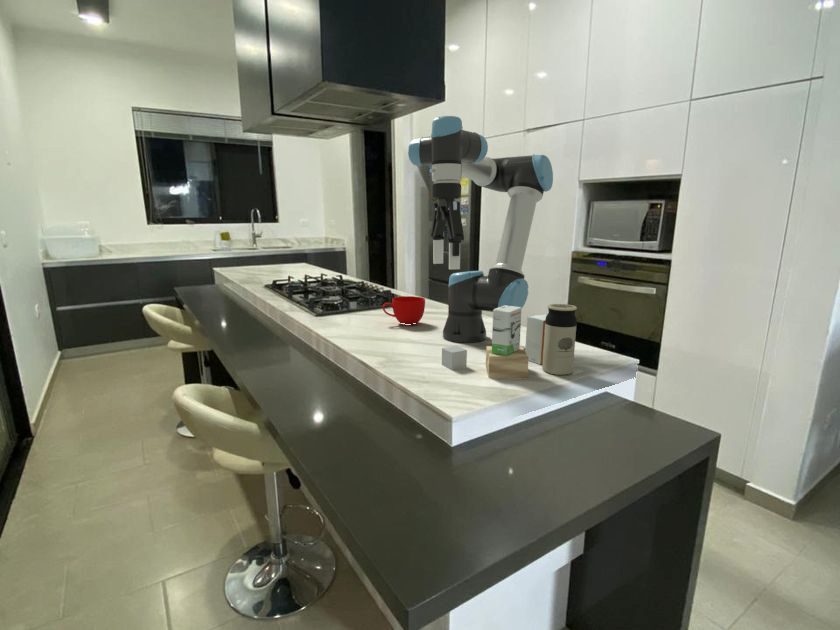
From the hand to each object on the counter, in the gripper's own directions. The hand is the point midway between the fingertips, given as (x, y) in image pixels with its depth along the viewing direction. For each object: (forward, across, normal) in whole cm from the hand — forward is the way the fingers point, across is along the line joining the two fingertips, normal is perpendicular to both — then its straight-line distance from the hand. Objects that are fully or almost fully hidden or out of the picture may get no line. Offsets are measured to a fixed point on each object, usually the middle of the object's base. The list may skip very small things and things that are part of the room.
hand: (445, 266), depth 118 cm
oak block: (+29, +7, +15) cm, 33 cm away
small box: (+29, 0, +30) cm, 42 cm away
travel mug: (+29, +10, +29) cm, 42 cm away
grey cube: (+28, -1, +3) cm, 28 cm away
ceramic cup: (+29, -55, +1) cm, 62 cm away
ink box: (+23, +7, +15) cm, 28 cm away
